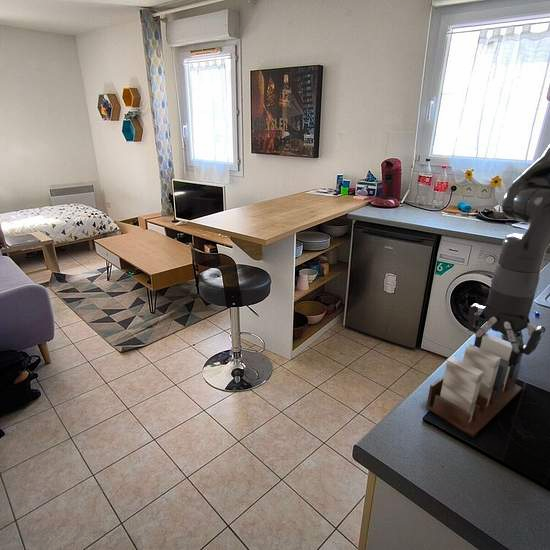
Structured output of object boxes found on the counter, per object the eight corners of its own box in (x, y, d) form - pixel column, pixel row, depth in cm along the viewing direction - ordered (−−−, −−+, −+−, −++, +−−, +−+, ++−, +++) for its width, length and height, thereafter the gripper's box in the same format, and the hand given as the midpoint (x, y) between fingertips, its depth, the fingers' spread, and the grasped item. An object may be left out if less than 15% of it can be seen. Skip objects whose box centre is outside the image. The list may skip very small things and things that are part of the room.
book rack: (521, 390, 81) (536, 341, 76) (473, 437, 69) (487, 383, 64) (476, 368, 88) (487, 322, 83) (425, 407, 76) (434, 357, 72)
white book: (503, 391, 79) (516, 345, 75) (499, 395, 78) (512, 348, 74) (476, 377, 84) (486, 332, 79) (471, 380, 83) (482, 335, 78)
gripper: (563, 294, 68) (539, 367, 75) (484, 271, 79) (470, 337, 86) (547, 306, 64) (523, 382, 71) (467, 280, 75) (453, 348, 82)
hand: (494, 357), depth 78 cm, fingers closed on white book, 6 cm apart
